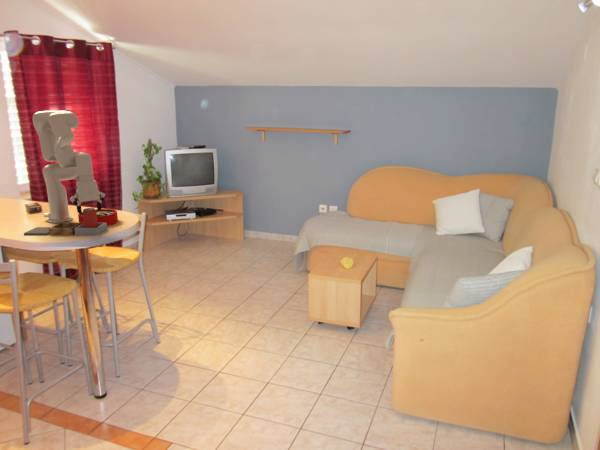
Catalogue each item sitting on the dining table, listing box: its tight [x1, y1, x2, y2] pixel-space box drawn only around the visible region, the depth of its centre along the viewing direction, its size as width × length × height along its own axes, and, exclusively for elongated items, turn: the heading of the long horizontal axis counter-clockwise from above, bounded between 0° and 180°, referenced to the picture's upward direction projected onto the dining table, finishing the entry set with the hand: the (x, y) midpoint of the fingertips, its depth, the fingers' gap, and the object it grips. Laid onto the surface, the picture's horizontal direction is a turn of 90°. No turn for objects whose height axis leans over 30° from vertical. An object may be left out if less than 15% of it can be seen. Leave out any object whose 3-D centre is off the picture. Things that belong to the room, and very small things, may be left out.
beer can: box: [82, 207, 98, 228], centre depth 261 cm, size 7×7×12 cm
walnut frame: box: [49, 222, 82, 236], centre depth 262 cm, size 12×12×4 cm
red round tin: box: [77, 208, 119, 227], centre depth 281 cm, size 20×6×20 cm
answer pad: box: [23, 226, 52, 236], centre depth 263 cm, size 12×12×1 cm
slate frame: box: [74, 223, 108, 236], centre depth 262 cm, size 12×12×4 cm
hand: (89, 212), depth 259 cm, fingers open, 9 cm apart
